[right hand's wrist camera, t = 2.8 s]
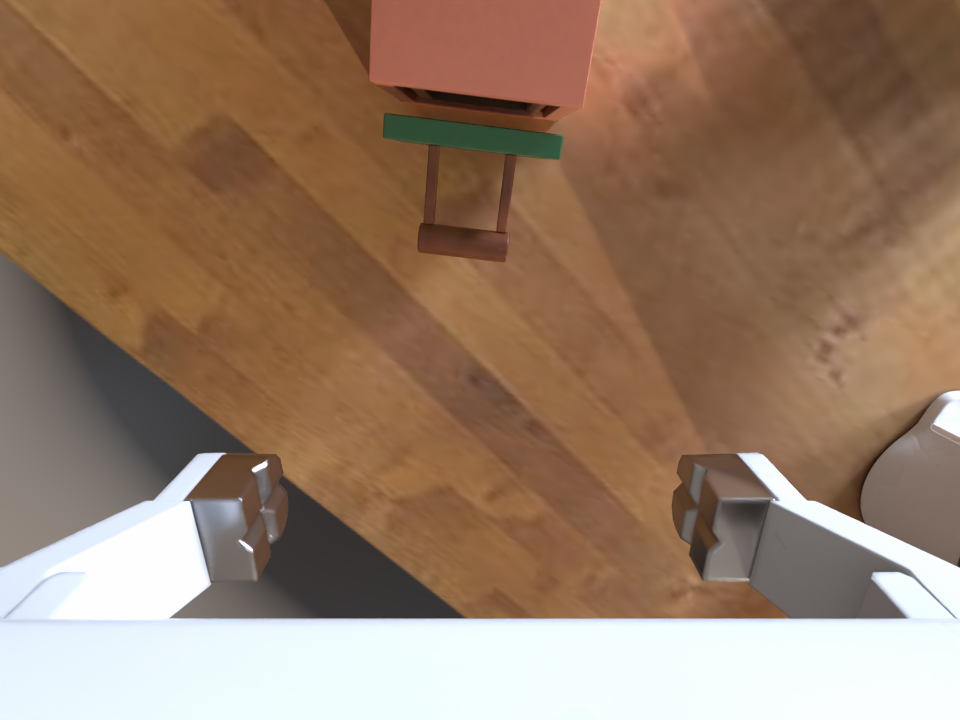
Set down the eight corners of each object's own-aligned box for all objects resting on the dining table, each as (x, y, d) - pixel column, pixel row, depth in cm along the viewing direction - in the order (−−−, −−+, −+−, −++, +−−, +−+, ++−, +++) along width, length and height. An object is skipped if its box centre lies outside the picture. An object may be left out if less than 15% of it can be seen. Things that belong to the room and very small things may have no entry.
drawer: (530, 249, 37) (541, 274, 29) (401, 234, 37) (378, 255, 29) (595, -187, 28) (636, -320, 21) (426, -212, 28) (402, -355, 20)
